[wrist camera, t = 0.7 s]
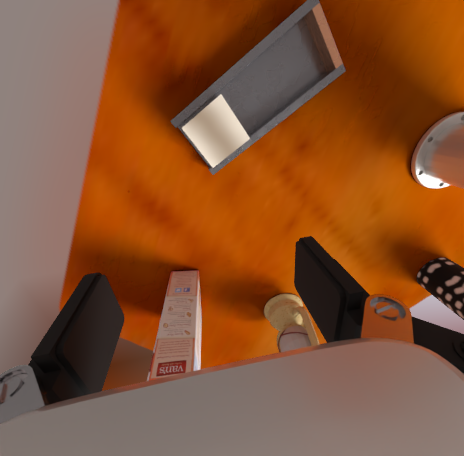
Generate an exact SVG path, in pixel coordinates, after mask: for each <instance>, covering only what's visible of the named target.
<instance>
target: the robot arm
mask: <svg viewBox="0 0 464 456" xmlns="http://www.w3.org/2000/svg"><path fill="white" fill-rule="evenodd" d="M411 171H412V175H413V177H414V179H415V181H416V182H417V183H418V184H420V185H422V186H424V187H428V188H433V189H438V188H443V187H447V186H449V185H453V186H457V187H460V188H463V189H464V112H456V113H453V114H450V115H448V116H446V117H444V118H442V119H441V120H439V121H438V122H436V123H435V124H434V125H433V126H432V127H430V128H429V129H428V131H427V132H426V133H425V134H424V135H423V137H422V138H421V140H420V141H419V143H418V144H417V146H416V148H415V151H414V154H413V157H412V162H411ZM294 284H295V288H296V290H297V292H298V293H299V295H300V297H301V298H302V300H303V302H304V304H305V305H306V307H307V309H308V310H309V312H310V314H311V316H312V317H313V319H314V321H315V322H316V324H317V326H318V328H319V329H320V331H321V333H322V334H323V336H324V338H325V340H326V341H327V343H325V344H320V345H314V346H309V347H304V348H299V349H294V350H290V351H285V352H280V353H275V354H271V355H266V356H261V357H256V358H252V359H247V360H242V361H237V362H233V363H228V364H224V365H219V366H214V367H210V368H205V369H200V370H196V371H191V372H187V373H182V374H177V375H173V376H168V377H164V378H159V379H155V380H150V381H146V382H141V383H137V384H132V385H128V386H123V387H119V388H114V389H110V390H105V391H102V388H103V385H104V382H105V379H106V375H107V372H108V369H109V366H110V363H111V360H112V357H113V354H114V351H115V348H116V345H117V341H118V339H119V336H120V333H121V329H122V326H123V323H124V314H123V312H122V310H121V308H120V306H119V304H118V301H117V299H116V297H115V295H114V293H113V291H112V288H111V286H110V284H109V282H108V280H107V278H106V276H105V275H102V274H101V273H93V274H87V275H85V276H84V277H83V278H82V280H81V281H80V283H79V284H78V286H77V288H76V289H75V291H74V292H73V294H72V295H71V297H70V298H69V300H68V301H67V303H66V304H65V306H64V307H63V309H62V310H61V312H60V314H59V315H58V316H57V318H56V320H55V321H54V322H53V324H52V325H51V327H50V328H49V330H48V332H47V333H46V335H45V336H44V338H43V339H42V341H41V342H40V344H39V345H38V347H37V348H36V350H35V351H34V353H33V355H32V356H31V358H32V360H31V361H30V363H29V365H20V366H16V367H14V368H11V369H9V370H7V371H5V372H4V373H2V374H1V375H0V456H464V334H461V333H458V332H456V331H452V330H449V329H447V328H443V327H440V326H438V325H435V324H432V323H429V322H426V321H423V320H420V319H417V318H415V317H412V316H411V312H410V310H409V309H408V307H407V306H406V305H405V304H404V303H402V302H401V301H400V300H398V299H396V298H394V297H391V296H388V295H383V294H374V295H371V296H370V295H369V294H368V293H367V292H366V291H365V290H364V289H363V288H362V287H361V286H360V285H359V284H358V282H357V281H356V280H355V279H354V278H353V277H352V276H351V275H350V274H349V273H348V272H347V271H346V270H345V269H344V268H343V267H342V266H341V265H340V264H339V263H338V262H337V261H336V260H335V259H333V258H332V257H331V256H330V255H329V254H328V253H327V252H326V251H325V250H324V249H323V248H322V247H321V245H320V244H319V243H318V242H317V241H316V240H315V239H314V238H313V237H312V236H310V237H304V238H300V239H299V241H297V242H296V252H295V278H294Z"/></svg>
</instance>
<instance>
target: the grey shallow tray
mask: <svg viewBox="0 0 464 456" xmlns="http://www.w3.org/2000/svg"><path fill="white" fill-rule="evenodd" d="M345 71H346V70H345V68H344V65H343V62H342V60H341V57H340V54H339V52H338V49H337V47H336V44H335V41H334V39H333V36H332V34H331V31H330V28H329V26H328V23H327V20H326V18H325V15H324V13H323V10H322V7H321V5H320V2H319V0H307V1H306V2H305V3H304V4H302V5H301V6H300V7H299V8H298V9H297V10H296V11H295V12H293V13H292V14H291V15H290V16H289V17H288V18H287V19H286V20H284V21H283V22H282V23H281V24H280V25H279V26H278V27H276V28H275V29H274V30H273V31H272V32H271V33H270V34H269V35H267V36H266V37H265V38H264V39H263V40H262V41H261V42H260V43H258V44H257V45H256V46H255V47H254V48H253V49H252V50H250V51H249V52H248V53H247V54H246V55H245V56H244V57H243V58H241V59H240V60H239V61H238V62H237V63H236V64H235V65H234V66H232V67H231V68H230V69H229V70H228V71H227V72H226V73H224V74H223V75H222V76H221V77H220V78H219V79H218V80H217V81H215V82H214V83H213V84H212V85H211V86H210V87H209V88H207V89H206V90H205V91H204V92H203V93H202V94H201V95H200V96H198V97H197V98H196V99H195V100H194V101H193V102H192V103H191V104H189V105H188V106H187V107H186V108H185V109H184V110H183V111H181V112H180V113H179V114H178V115H177V116H176V117H175V118H174V119H172V120H171V121H170V122H171V123H172V124H173V125H174V127H175V128H176V127H178V128H179V129H180V131H181V132H182V133H183V134H184V136H185V137H186V138H187V139H188V141H189V142H190V143H191V145H192V146H193V147H194V148H195V150H196V151H197V152H198V153H199V155H200V156H201V157H202V158H203V160H204V161H205V162H206V163H207V165H208V166H209V170H210V172H211V173H212V174H213V175H214V174H215V173H216V172H218V171H219V170H220V169H221V168H223V167H224V166H225V165H226V164H228V163H229V162H230V161H232V160H233V159H234V158H235V157H237V156H238V155H239V154H241V153H242V152H243V151H244V150H246V149H247V148H248V147H249V146H251V145H252V144H253V143H255V142H256V141H257V140H258V139H260V138H261V137H262V136H263V135H265V134H266V133H267V132H269V131H270V130H271V129H272V128H274V127H275V126H276V125H278V124H279V123H280V122H281V121H283V120H284V119H285V118H286V117H288V116H289V115H290V114H292V113H293V112H294V111H295V110H297V109H298V108H299V107H300V106H302V105H303V104H304V103H306V102H307V101H308V100H309V99H311V98H312V97H313V96H315V95H316V94H317V93H318V92H320V91H321V90H322V89H323V88H325V87H326V86H327V85H329V84H330V83H331V82H332V81H334V80H335V79H336V78H337V77H339V76H340V75H341V74H343V73H344V72H345ZM220 94H221V95H222V96H223V98H224V99H225V101H226V102H227V104H228V105H229V107H230V108H231V110H232V111H233V113H234V114H235V116H236V118H237V119H238V121H239V122H240V124H241V125H242V127H243V128H244V130H245V131H246V133H247V134H248V136H249V137H250V139H249V140H248V141H247V142H245V143H244V144H243V145H242V146H240V147H239V148H238V149H236V150H235V151H234V152H233V153H231V154H230V155H229V156H228V157H226V158H225V159H224V160H223V161H221V162H220V163H219V164H218V165H216V166H215V167H214V168H212V166H211V165H210V164H209V163H208V161H207V160H206V159H205V157H204V156H203V155H202V154H201V152H200V151H199V150H198V149H197V147H196V146H195V145H194V143H193V142H192V141H191V140H190V138H189V137H188V136H187V135H186V133H185V132H184V131H183V129H182V127H183V126H185V125H186V124H187V123H188V122H189V121H190V120H191V119H193V118H194V117H195V116H196V115H197V114H198V113H200V112H201V111H202V110H203V109H204V108H205V107H207V106H208V105H209V104H210V103H211V102H212V101H213V100H215V99H216V98H217V97H218V96H219V95H220Z"/></svg>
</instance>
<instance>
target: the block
mask: <svg viewBox="0 0 464 456" xmlns="http://www.w3.org/2000/svg"><path fill="white" fill-rule="evenodd" d="M182 129H183V131H184V132H185V133H186V135H187V136H188V137H189V138H190V140H191V141H192V142H193V143H194V145H195V146H196V147H197V149H198V150H199V151H200V152H201V154H202V155H203V156H204V157H205V159H206V160H207V161H208V163H209V164H210V165H211V166H212V168H214V167H215V166H216V165H218V164H219V163H220V162H221V161H223V160H224V159H225V158H226V157H228V156H229V155H230V154H231V153H233V152H234V151H235V150H236V149H238V148H239V147H240V146H242V145H243V144H244V143H245V142H247V141H248V140H249V139H250V137H249V136H248V134H247V133H246V131H245V130H244V128H243V127H242V125H241V124H240V122H239V121H238V119H237V118H236V116H235V114H234V113H233V111H232V110H231V108H230V107H229V105H228V104H227V102H226V101H225V99H224V98H223V96H222V95H221V94H220V95H219V96H218V97H217V98H216V99H215V100H213V101H212V102H211V103H210V104H209V105H208V106H207V107H205V108H204V109H203V110H202V111H201V112H200V113H198V114H197V115H196V116H195V117H194V118H193V119H191V120H190V121H189V122H188V123H187V124H186V125H185V126H183V127H182Z"/></svg>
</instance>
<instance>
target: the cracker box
mask: <svg viewBox="0 0 464 456" xmlns="http://www.w3.org/2000/svg"><path fill="white" fill-rule="evenodd" d="M201 325H202V314H201V295H200V279H199V270H195V271H172V272H171V274H170V279H169V283H168V288H167V293H166V297H165V302H164V306H163V311H162V315H161V320H160V324H159V329H158V334H157V338H156V342H155V347H154V351H153V356H152V360H151V365H150V369H149V374H148V379H147V381H150V380H155V379H159V378H164V377H168V376H173V375H177V374H182V373H187V372H191V371H196V370H200V363H201Z"/></svg>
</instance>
